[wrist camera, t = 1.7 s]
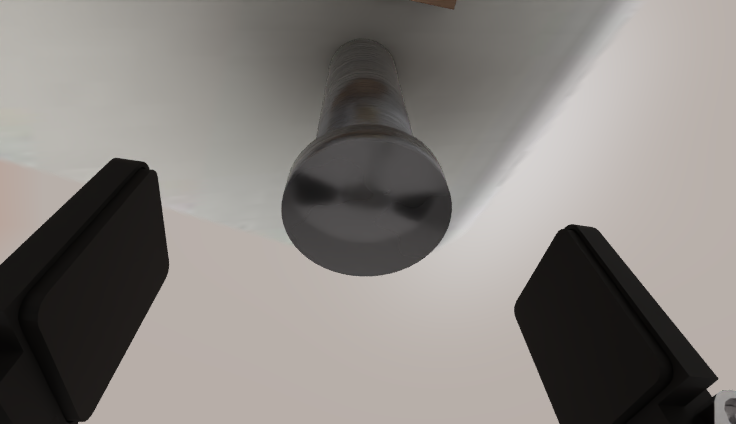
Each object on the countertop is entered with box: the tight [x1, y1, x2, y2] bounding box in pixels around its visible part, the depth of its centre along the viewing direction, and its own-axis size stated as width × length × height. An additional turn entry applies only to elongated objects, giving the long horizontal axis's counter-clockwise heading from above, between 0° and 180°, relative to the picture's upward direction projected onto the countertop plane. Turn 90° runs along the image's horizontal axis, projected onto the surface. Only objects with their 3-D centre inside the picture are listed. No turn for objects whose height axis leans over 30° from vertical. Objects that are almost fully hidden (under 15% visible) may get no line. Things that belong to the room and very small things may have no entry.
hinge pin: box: [282, 39, 452, 276], centre depth 14 cm, size 4×4×10 cm
